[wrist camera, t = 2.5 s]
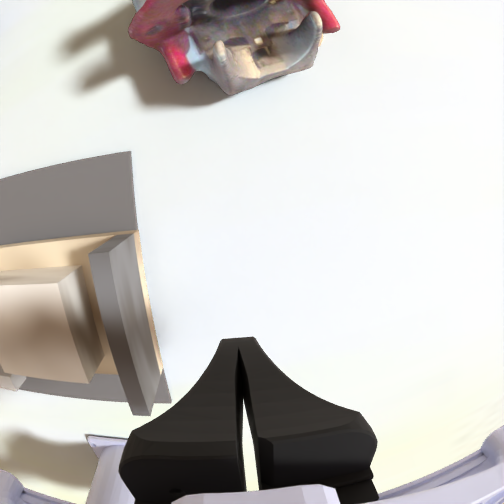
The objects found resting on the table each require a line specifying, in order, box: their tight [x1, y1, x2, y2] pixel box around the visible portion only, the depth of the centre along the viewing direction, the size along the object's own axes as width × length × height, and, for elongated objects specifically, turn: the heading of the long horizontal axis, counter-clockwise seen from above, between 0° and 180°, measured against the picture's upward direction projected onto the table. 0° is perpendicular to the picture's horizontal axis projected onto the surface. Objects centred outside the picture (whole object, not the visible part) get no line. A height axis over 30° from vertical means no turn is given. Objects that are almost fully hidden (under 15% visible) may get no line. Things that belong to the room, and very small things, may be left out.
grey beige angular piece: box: [0, 230, 163, 416], centre depth 15 cm, size 9×12×6 cm
